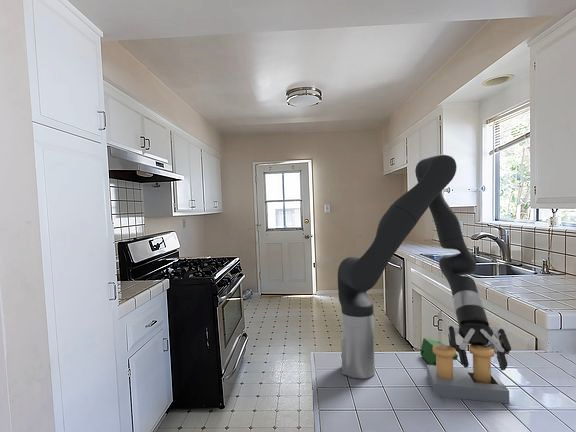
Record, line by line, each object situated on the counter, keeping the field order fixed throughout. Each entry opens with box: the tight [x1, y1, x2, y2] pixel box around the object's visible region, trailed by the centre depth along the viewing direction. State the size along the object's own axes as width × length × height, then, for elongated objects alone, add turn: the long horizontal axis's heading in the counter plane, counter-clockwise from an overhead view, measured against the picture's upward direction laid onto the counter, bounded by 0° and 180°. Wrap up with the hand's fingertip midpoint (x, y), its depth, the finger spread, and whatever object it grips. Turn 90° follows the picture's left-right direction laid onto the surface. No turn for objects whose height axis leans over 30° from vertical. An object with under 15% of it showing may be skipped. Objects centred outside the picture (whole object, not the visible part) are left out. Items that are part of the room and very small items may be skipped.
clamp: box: [420, 337, 459, 366], centre depth 100 cm, size 12×6×9 cm, turn 175°
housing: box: [426, 344, 510, 404], centre depth 85 cm, size 16×11×10 cm, turn 77°
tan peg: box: [468, 344, 495, 384], centre depth 85 cm, size 6×6×10 cm
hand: (485, 367), depth 83 cm, fingers open, 8 cm apart
